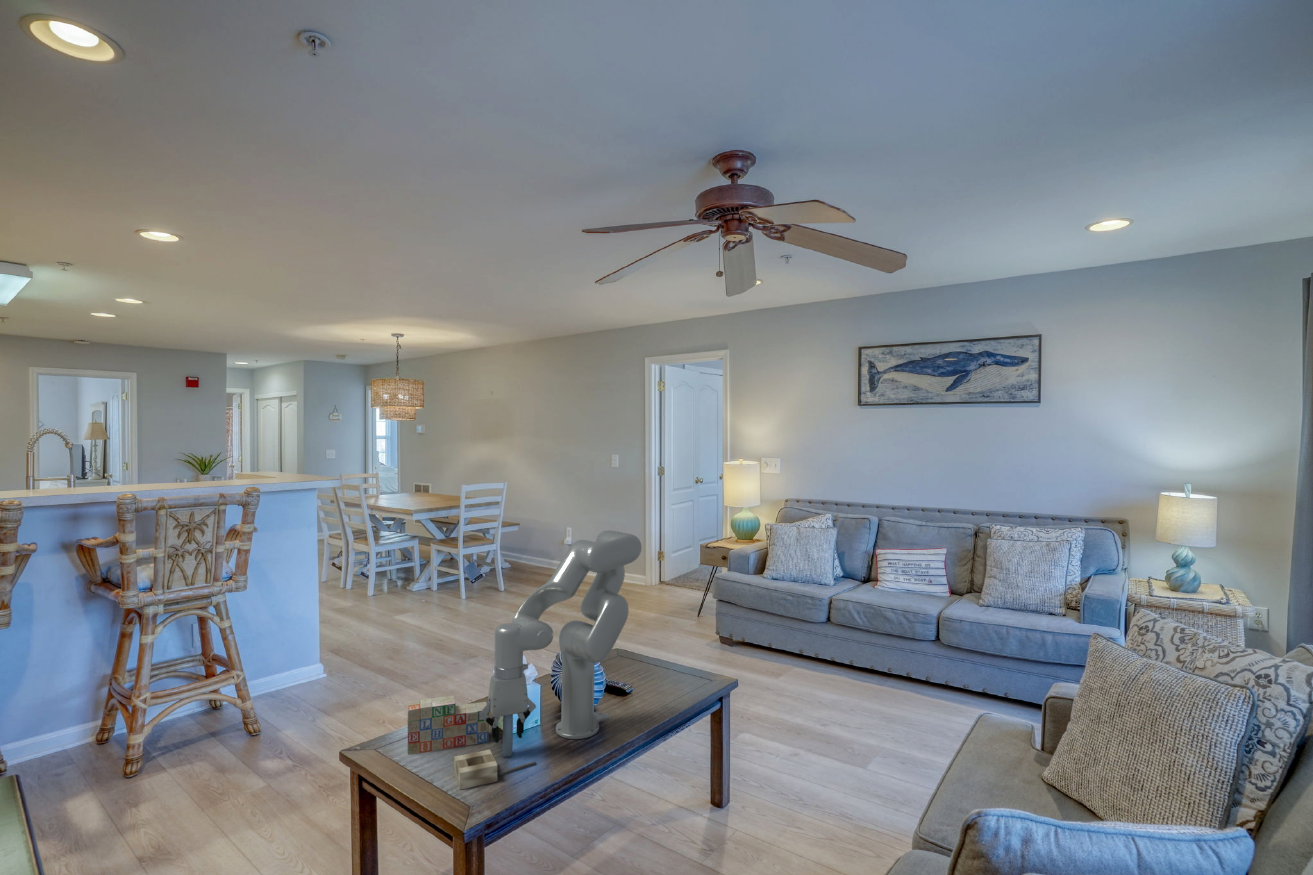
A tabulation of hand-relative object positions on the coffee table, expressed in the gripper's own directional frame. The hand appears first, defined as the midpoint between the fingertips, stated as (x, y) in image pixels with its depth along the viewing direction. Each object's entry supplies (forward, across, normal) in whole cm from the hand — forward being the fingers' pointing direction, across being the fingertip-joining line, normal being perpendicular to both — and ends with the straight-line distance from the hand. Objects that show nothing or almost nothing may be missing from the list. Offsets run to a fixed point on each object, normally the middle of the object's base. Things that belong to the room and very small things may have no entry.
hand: (507, 737), depth 171 cm
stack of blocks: (+5, +13, -13) cm, 20 cm away
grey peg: (+5, 0, 0) cm, 5 cm away
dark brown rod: (+5, 0, +9) cm, 10 cm away
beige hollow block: (+5, +10, +8) cm, 14 cm away
